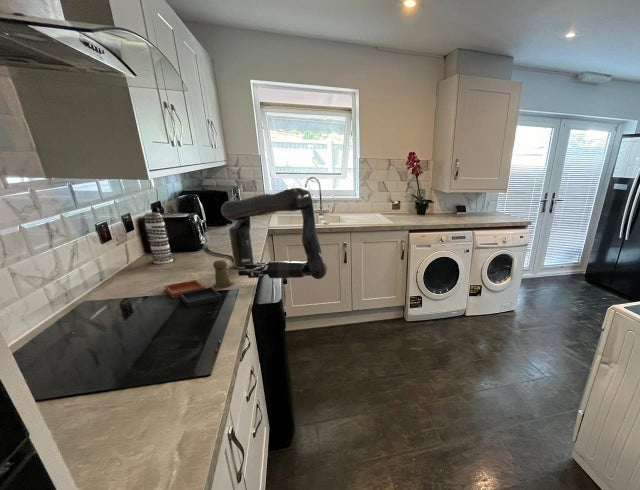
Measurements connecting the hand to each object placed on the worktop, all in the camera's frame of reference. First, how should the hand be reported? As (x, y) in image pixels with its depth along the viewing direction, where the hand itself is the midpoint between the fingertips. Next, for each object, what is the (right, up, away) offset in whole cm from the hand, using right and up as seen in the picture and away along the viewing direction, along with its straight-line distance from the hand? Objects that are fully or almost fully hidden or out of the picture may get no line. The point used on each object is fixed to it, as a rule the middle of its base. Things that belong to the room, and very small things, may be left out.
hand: (241, 269), depth 140 cm
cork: (-9, -7, +1) cm, 11 cm away
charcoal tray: (-10, -12, -13) cm, 20 cm away
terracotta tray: (-20, -9, -6) cm, 23 cm away
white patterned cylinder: (-56, +6, +29) cm, 63 cm away
